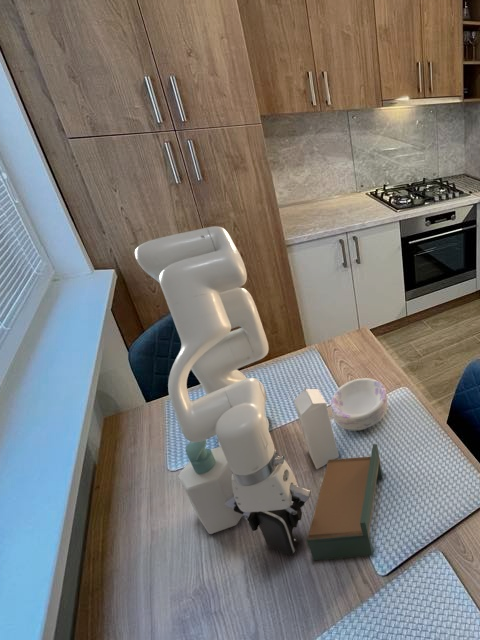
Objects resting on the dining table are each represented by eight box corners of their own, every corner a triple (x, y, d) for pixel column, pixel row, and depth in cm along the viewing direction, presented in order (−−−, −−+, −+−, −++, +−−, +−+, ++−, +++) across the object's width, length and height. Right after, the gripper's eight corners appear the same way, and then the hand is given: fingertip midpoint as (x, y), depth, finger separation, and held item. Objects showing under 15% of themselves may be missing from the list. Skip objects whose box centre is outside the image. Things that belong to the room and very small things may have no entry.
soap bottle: (196, 540, 87) (160, 472, 77) (204, 501, 95) (171, 435, 85) (249, 521, 90) (220, 453, 81) (252, 485, 98) (226, 420, 88)
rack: (313, 560, 83) (302, 527, 78) (333, 479, 99) (325, 447, 94) (372, 555, 83) (365, 522, 78) (382, 475, 99) (377, 443, 95)
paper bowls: (400, 413, 117) (397, 393, 113) (355, 448, 106) (351, 427, 103) (368, 389, 126) (364, 369, 122) (324, 419, 116) (319, 398, 112)
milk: (316, 470, 101) (297, 405, 92) (308, 453, 106) (289, 390, 96) (340, 456, 104) (323, 393, 95) (331, 441, 109) (315, 378, 99)
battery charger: (304, 539, 86) (294, 505, 82) (292, 557, 83) (280, 523, 78) (278, 528, 89) (266, 494, 84) (265, 545, 85) (252, 511, 80)
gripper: (308, 443, 79) (324, 500, 87) (217, 449, 78) (242, 507, 86) (296, 478, 72) (315, 537, 80) (196, 486, 71) (225, 545, 79)
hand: (277, 521), depth 83 cm, fingers closed on battery charger, 7 cm apart
